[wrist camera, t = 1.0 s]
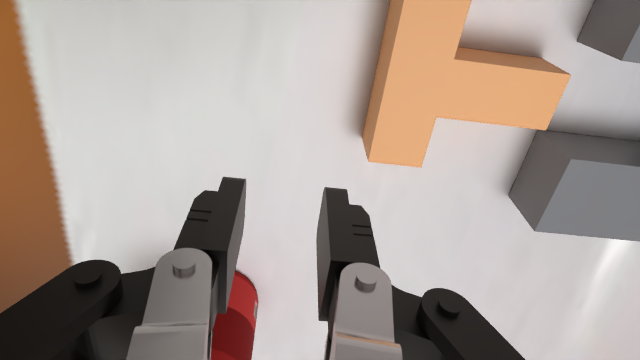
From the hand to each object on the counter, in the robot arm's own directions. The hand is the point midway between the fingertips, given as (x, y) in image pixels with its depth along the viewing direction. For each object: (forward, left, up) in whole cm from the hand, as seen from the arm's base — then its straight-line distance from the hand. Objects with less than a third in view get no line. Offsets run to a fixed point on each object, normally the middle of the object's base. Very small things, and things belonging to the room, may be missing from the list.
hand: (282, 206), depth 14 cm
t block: (0, +12, -19) cm, 23 cm away
